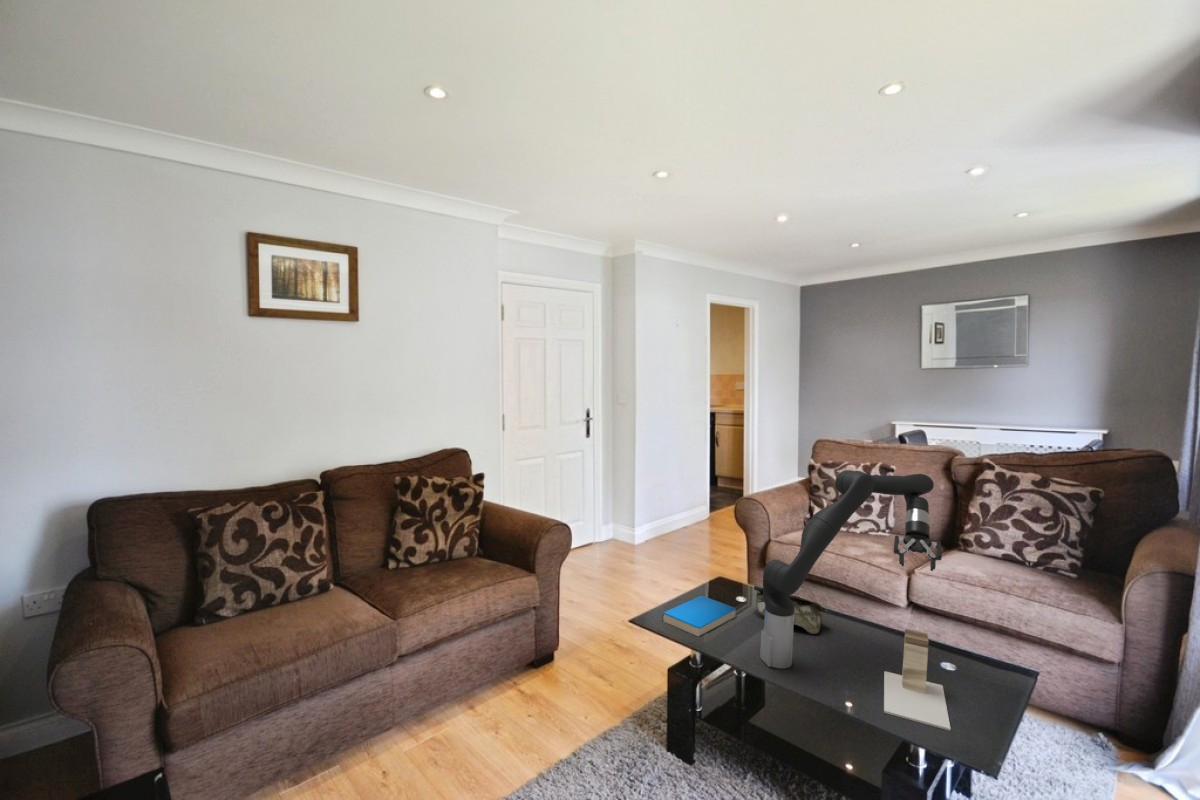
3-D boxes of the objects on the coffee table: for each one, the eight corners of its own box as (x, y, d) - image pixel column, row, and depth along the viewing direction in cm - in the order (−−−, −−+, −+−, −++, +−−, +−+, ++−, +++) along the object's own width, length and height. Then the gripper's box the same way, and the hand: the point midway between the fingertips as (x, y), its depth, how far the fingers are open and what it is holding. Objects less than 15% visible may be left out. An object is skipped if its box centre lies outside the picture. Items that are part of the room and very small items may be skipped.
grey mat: (950, 730, 149) (950, 728, 149) (884, 712, 156) (884, 710, 156) (942, 687, 170) (942, 685, 170) (884, 672, 177) (884, 671, 177)
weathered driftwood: (751, 623, 221) (739, 603, 213) (762, 594, 228) (751, 575, 220) (822, 645, 202) (811, 625, 194) (831, 614, 209) (822, 593, 201)
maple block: (925, 693, 165) (928, 641, 164) (902, 687, 168) (905, 636, 167) (924, 683, 171) (927, 633, 170) (902, 678, 173) (905, 628, 173)
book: (736, 608, 216) (700, 626, 198) (736, 618, 216) (699, 638, 198) (700, 594, 228) (662, 611, 210) (699, 605, 228) (661, 622, 210)
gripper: (894, 516, 195) (893, 558, 186) (941, 522, 188) (943, 566, 179) (894, 527, 200) (892, 569, 191) (940, 533, 193) (941, 576, 184)
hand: (917, 567), depth 185 cm, fingers open, 8 cm apart
